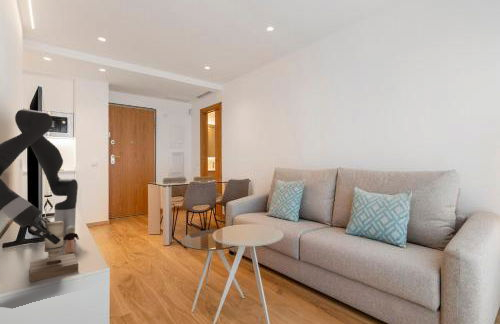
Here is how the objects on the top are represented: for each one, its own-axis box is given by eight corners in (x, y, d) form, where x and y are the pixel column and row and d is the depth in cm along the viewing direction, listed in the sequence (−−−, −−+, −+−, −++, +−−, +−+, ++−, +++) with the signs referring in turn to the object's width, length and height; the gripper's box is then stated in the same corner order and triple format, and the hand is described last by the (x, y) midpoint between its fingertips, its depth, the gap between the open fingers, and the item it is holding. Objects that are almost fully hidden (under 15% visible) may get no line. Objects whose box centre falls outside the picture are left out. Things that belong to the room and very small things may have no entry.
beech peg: (43, 256, 96) (44, 222, 97) (62, 252, 100) (63, 220, 100) (44, 260, 92) (45, 225, 92) (63, 256, 96) (64, 222, 96)
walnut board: (29, 269, 97) (30, 261, 97) (73, 260, 106) (73, 253, 106) (29, 281, 86) (30, 273, 86) (78, 271, 96) (78, 263, 96)
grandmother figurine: (66, 256, 111) (67, 227, 111) (59, 255, 112) (59, 227, 112) (81, 250, 118) (81, 224, 119) (74, 250, 119) (75, 223, 119)
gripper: (24, 206, 87) (64, 237, 92) (37, 201, 100) (72, 228, 105) (3, 223, 84) (46, 253, 89) (19, 216, 97) (56, 242, 102)
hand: (60, 240), depth 97 cm, fingers closed on beech peg, 5 cm apart
